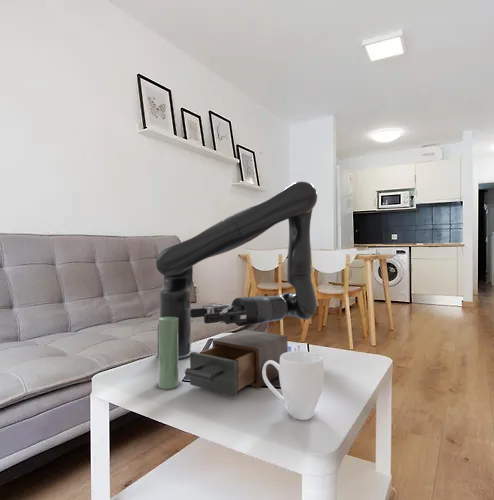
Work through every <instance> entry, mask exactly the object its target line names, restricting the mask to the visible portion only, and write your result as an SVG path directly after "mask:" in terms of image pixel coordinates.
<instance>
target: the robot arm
mask: <svg viewBox="0 0 494 500" xmlns="http://www.w3.org/2000/svg"><path fill="white" fill-rule="evenodd" d="M317 201H318V191H317V189H316V187H315V186H314V185H313V184H312V183H310V182H308V181H295V182H293V183H291V184H289V185H288V186H287V187H285V188H284V189H283V190H281V191H279V192H278V193H276V194H274V195H273V196H271V197H270V198H268V199H266V200H264V201H262V202H259V203H257V204H254V205H252V206H249V207H247V208H245V209H242V210H240V211H238V212H235V213H234V214H232V215H229V216H228V217H226V218H224V219H222V220H220V221H218V222H216V223H214V224H213V225H212V226H209V227H207V228H206V229H204V230H203V231H201V232H199V233H198V234H196V235H195V236H193V237H191V238H188V239H186V240H184V241H181V242H177V243H176V244H173V245H171V246H168V247H165V248H163V249H162V250H161V251H160V252H159V253H158V254H157V256H156V259H155V267H156V269H157V271H158V273H160V274H161V275H162V276H163V284H162V287H161V289H160V291H159V318H161V317H177V318H178V360H179V359H180V360H181V359H185V358H188V357H190V353H191V352H192V350H191V349H192V342H191V341H192V340H191V339H192V338H191V337H192V335H191V334H192V333H191V331H192V330H191V329H192V328H191V324H192V323H191V321H192V320H191V318H193V319H194V318H195V319H196V318H203V323H205V324H215V323H219V324H225V325H232V324H234V325H236V326H238V327H245V326H252V325H260V324H261V325H262V324H264V323H269V322H276V321H277V322H278V321H281V320H283V319H285V318H286V317H293V318H297V319H300V320H304V321H308V320H310V319H312V318H313V317H314V315H316V312H317V306H318V303H317V296H316V292H315V289H314V284H313V280H312V264H313V263H312V246H311V221H312V215H313V209H314V208H315V206H316V205H317ZM287 220H288V221H287ZM284 221H287V222H288V247H287V264H286V265H287V267H286V269H287V270H286V272H287V275H286V276H287V278H286V279H287V283H288V285H290V286H292V287H293V288H294V291H295V292H285V293H282V294H278V295H267V296H261V295H256V296H255V295H253V296H244V297H243V296H241V297H236V298H234V299H233V301H232V302H231V305H230V304H227V303H226V304H211V305H205V304H204V305H202V307H197V308H192V307H191V302H192V301H191V294H192V290H193V278H194V277H193V275H194V274H193V273H194V272H193V271H194V266H195V265H197V264H198V263H200V262H202V261H204V260H206V259H209V258H212V257H215V256H218V255H221V254H225V253H227V252H230V251H232V250H235V249H237V248H239V247H241V246H243V245H246V244H247V243H249V242H251V241H253V240H255V239H256V238H258V237H259V236H261V235H263V234H264V233H265V232H266V231H268V230H269V229H271V228H272V227H274V226H275V225H278V224H280V223H282V222H284ZM208 310H209V311H208ZM157 355H158V356H159V323H158V324H157Z"/></svg>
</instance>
